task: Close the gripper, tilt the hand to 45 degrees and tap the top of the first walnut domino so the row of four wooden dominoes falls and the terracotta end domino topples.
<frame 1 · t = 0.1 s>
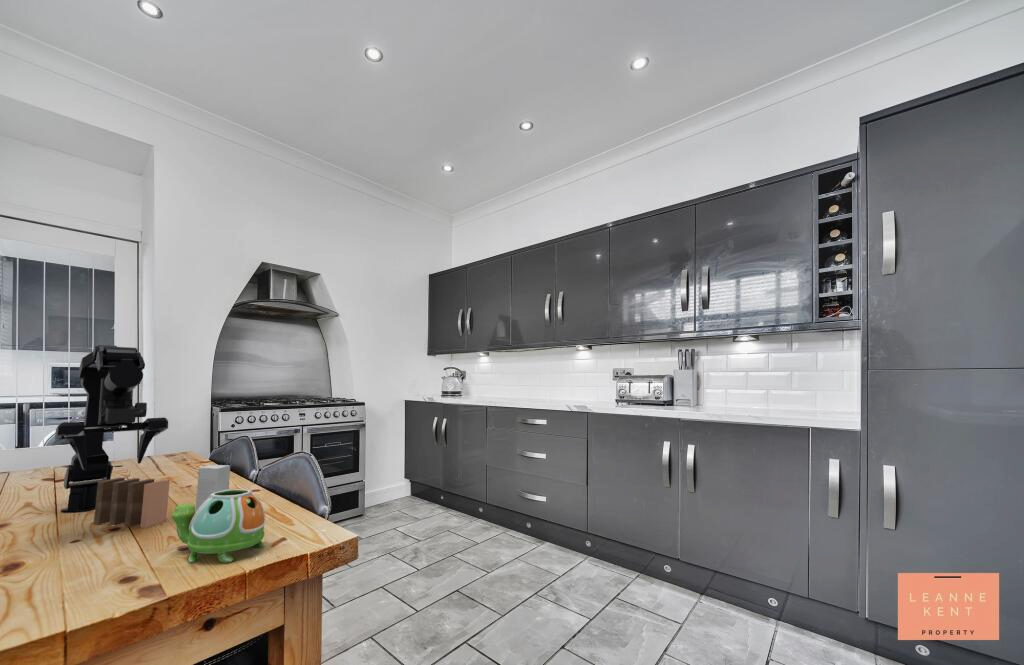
hand: (112, 466, 98), 15 cm above the table, tool pointing down, fingers open, 9 cm apart
domino end: (153, 524, 105), on the table
skincare box: (211, 513, 114), on the table
domino 2: (122, 522, 107), on the table
domino 1: (107, 521, 107), on the table
domino 3: (137, 523, 106), on the table
turtle holder: (218, 554, 88), on the table
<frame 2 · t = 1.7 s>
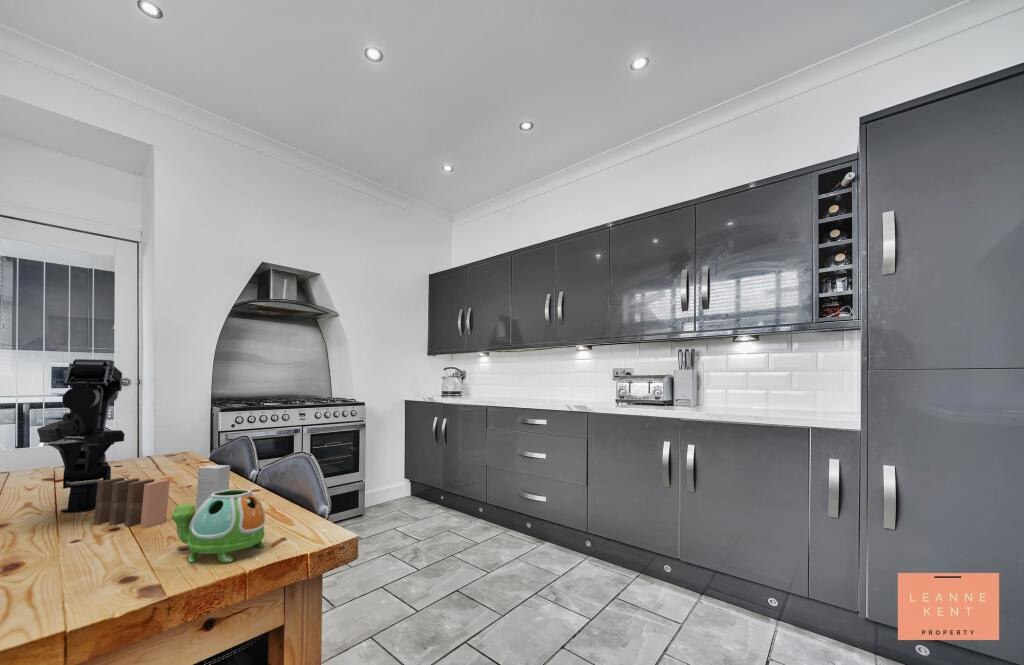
hand: (78, 471, 109), 12 cm above the table, tool pointing down, fingers open, 6 cm apart
nothing on the table moved.
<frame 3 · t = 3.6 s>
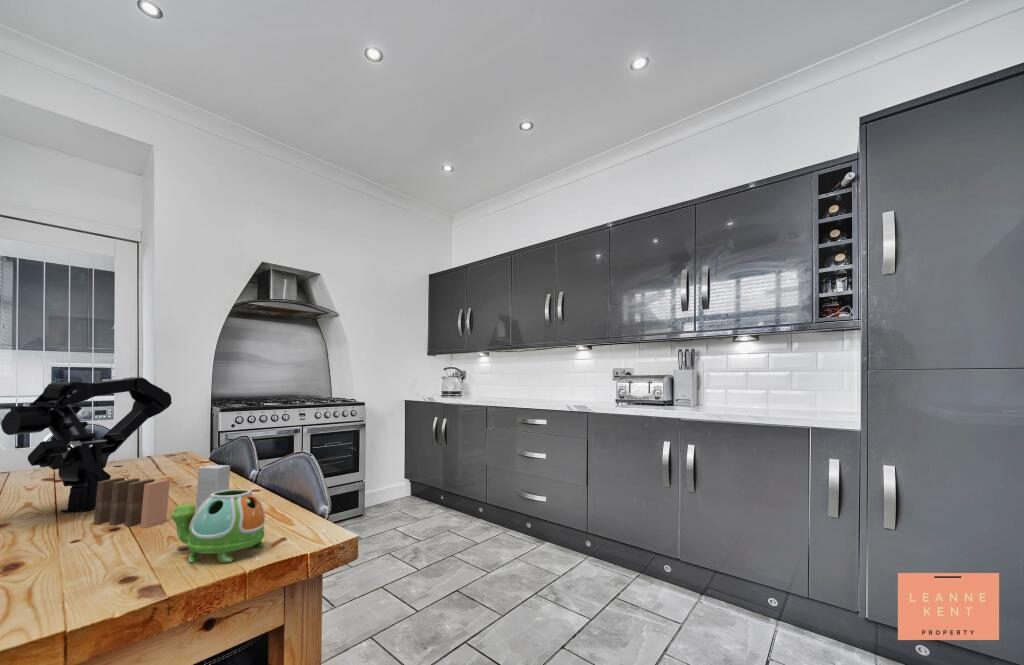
hand: (97, 472, 110), 12 cm above the table, tool tilted 45°, fingers closed
nothing on the table moved.
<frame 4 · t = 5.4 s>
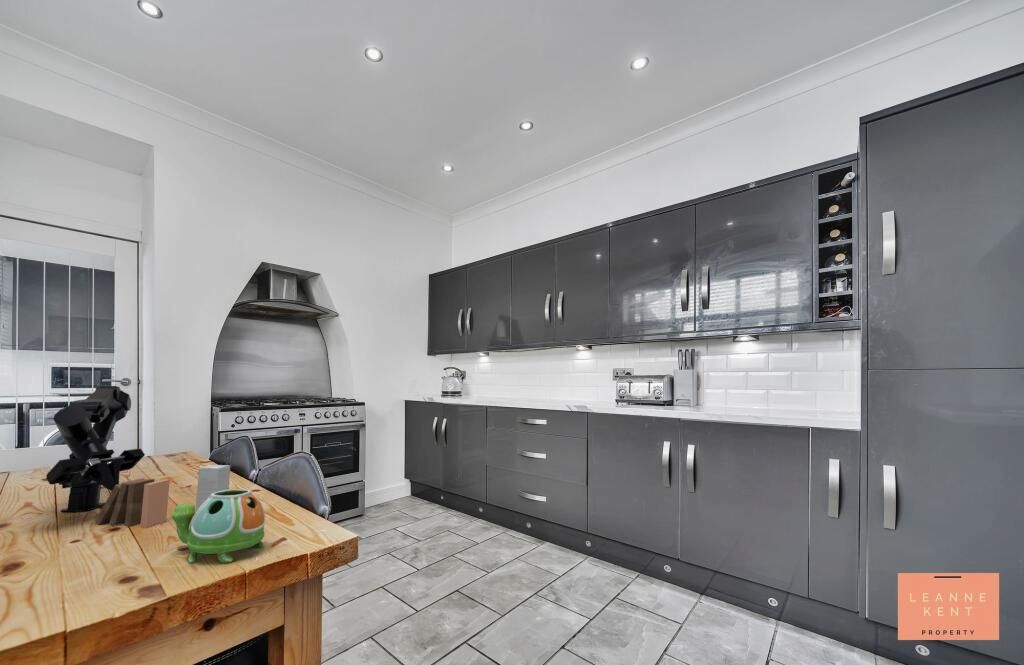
hand: (115, 490, 108), 8 cm above the table, tool tilted 45°, fingers closed
domino 2: (122, 521, 107), on the table, tilted 14°
domino 1: (108, 519, 107), on the table, tilted 30°
everything else where it was.
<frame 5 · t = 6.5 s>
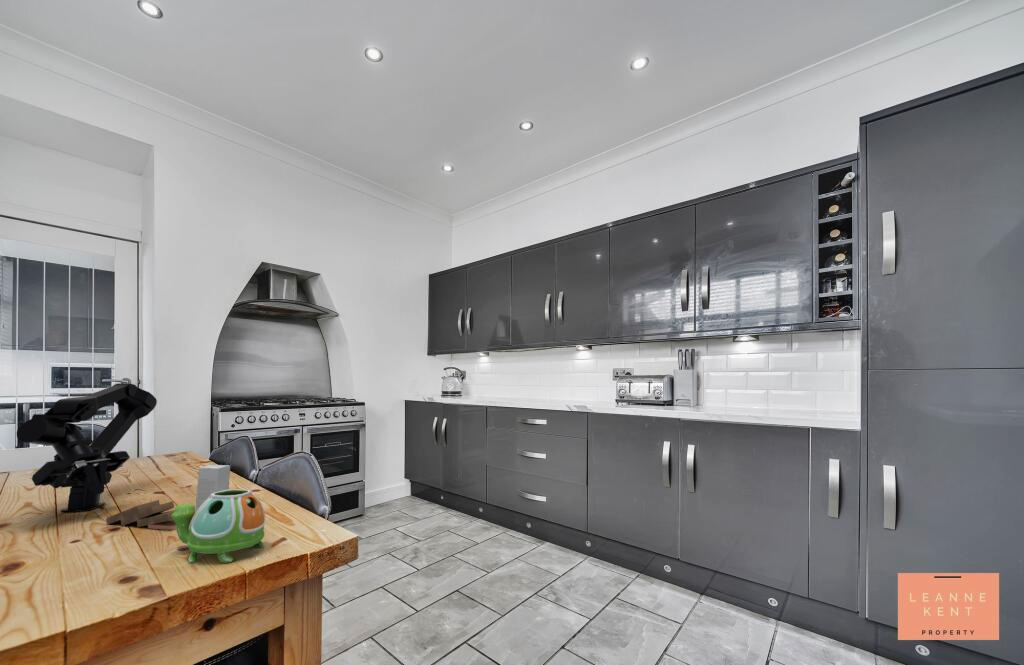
hand: (101, 493, 109), 7 cm above the table, tool tilted 40°, fingers closed
domino end: (158, 524, 105), on the table, tilted 90°, touching domino 3
domino 2: (132, 519, 106), point 1 cm above the table, tilted 69°, touching domino 1, domino 3
domino 1: (117, 518, 107), point 1 cm above the table, tilted 69°, touching domino 2
domino 3: (148, 520, 105), point 1 cm above the table, tilted 77°, touching domino 2, domino end
everything else where it was.
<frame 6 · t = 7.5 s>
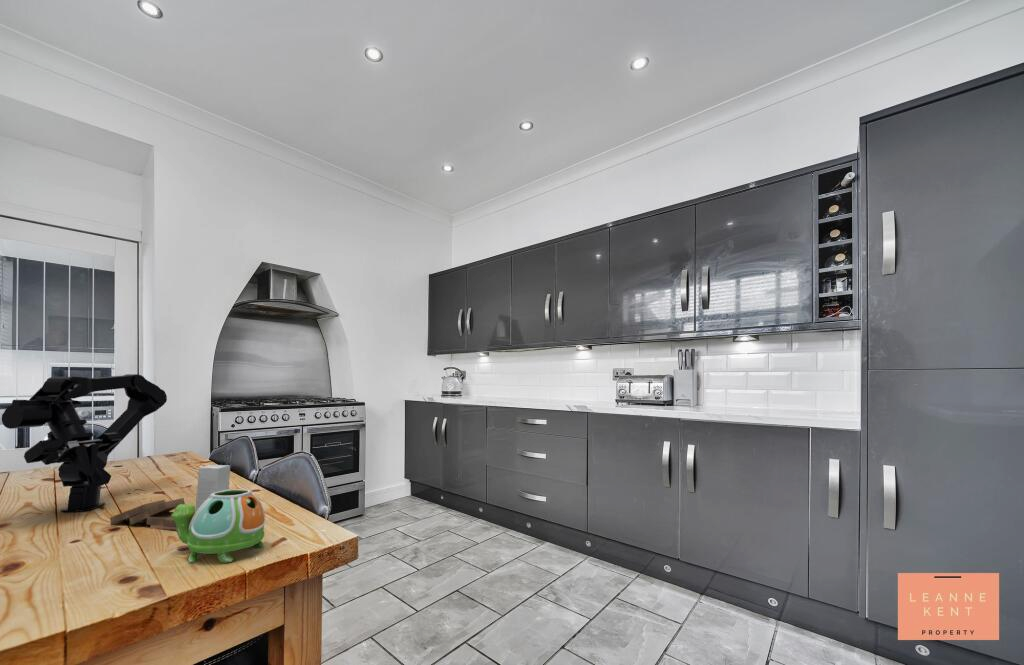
hand: (90, 474, 110), 11 cm above the table, tool tilted 35°, fingers closed
domino end: (160, 525, 105), on the table, tilted 90°
domino 2: (139, 519, 106), point 1 cm above the table, tilted 66°, touching domino 3
domino 1: (121, 518, 107), point 1 cm above the table, tilted 69°
domino 3: (157, 517, 105), point 2 cm above the table, tilted 90°, touching domino 2
everything else where it was.
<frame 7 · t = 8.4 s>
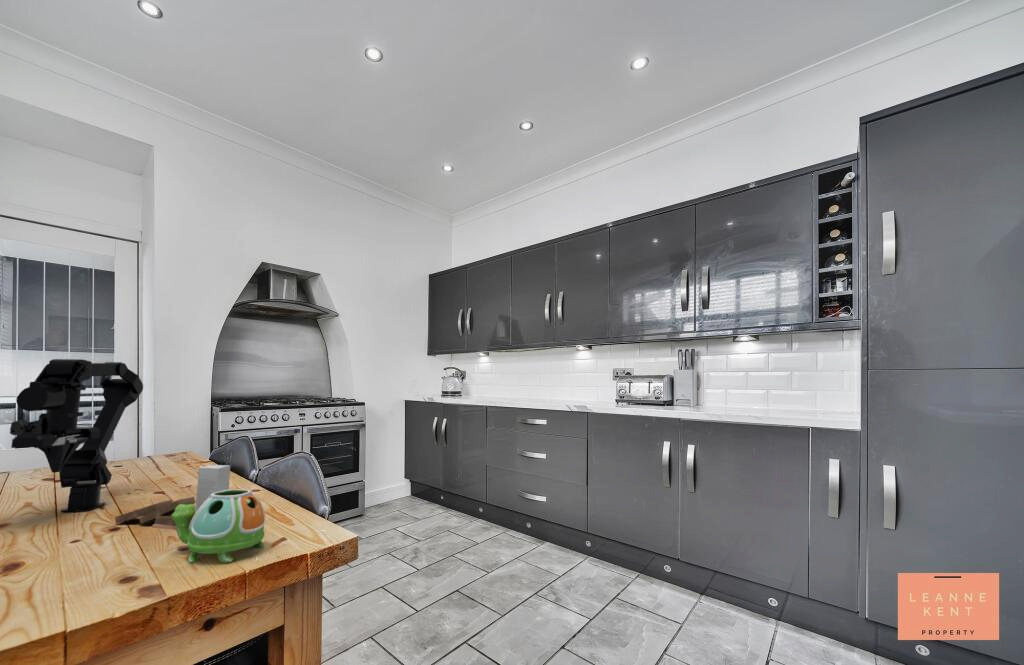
hand: (55, 472, 108), 12 cm above the table, tool pointing down, fingers closed
domino end: (162, 524, 105), on the table, tilted 90°, touching domino 3
domino 2: (148, 518, 106), point 1 cm above the table, tilted 65°, touching domino 1
domino 1: (124, 517, 107), point 1 cm above the table, tilted 72°, touching domino 2
domino 3: (166, 517, 106), point 2 cm above the table, tilted 90°, touching domino end
everything else where it was.
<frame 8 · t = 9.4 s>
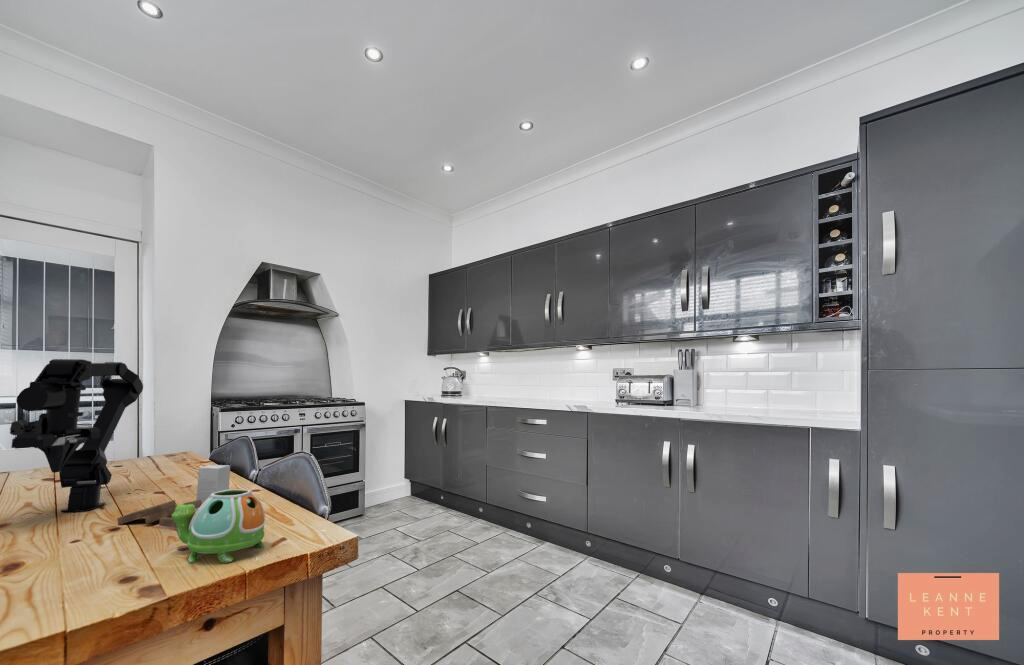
hand: (55, 472, 108), 12 cm above the table, tool pointing down, fingers closed
domino 2: (153, 518, 106), point 1 cm above the table, tilted 71°, touching domino 1, domino 3
domino 3: (170, 519, 105), point 1 cm above the table, tilted 89°, touching domino 2, domino end
at the end: domino end tilted 90°; domino 1 tilted 74° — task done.
